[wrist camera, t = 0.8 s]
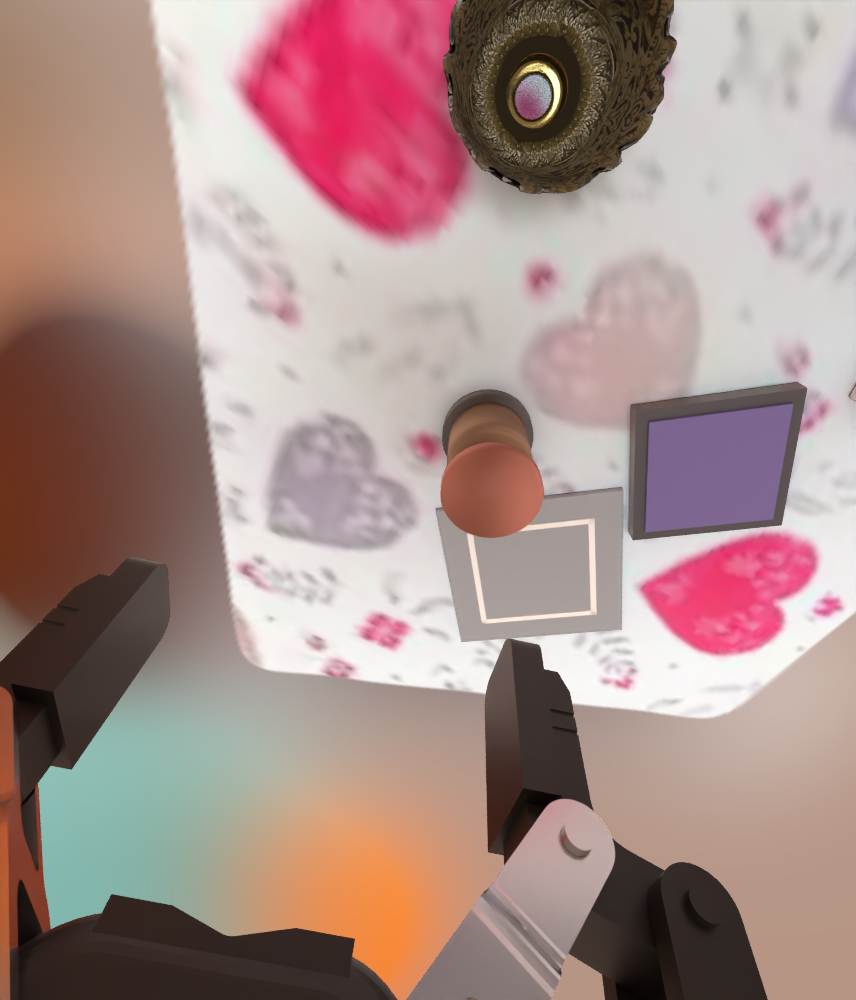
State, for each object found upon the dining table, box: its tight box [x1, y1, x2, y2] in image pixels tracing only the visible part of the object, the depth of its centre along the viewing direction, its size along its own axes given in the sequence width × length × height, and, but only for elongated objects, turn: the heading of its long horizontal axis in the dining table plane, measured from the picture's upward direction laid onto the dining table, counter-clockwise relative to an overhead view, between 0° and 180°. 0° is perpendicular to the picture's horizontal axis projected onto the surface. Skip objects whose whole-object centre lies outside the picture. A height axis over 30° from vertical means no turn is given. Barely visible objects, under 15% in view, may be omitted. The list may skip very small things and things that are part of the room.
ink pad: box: [629, 382, 807, 540], centre depth 32 cm, size 9×9×1 cm
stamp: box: [441, 390, 544, 538], centre depth 29 cm, size 5×5×8 cm
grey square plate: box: [436, 487, 623, 642], centre depth 37 cm, size 12×12×1 cm
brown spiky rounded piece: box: [443, 0, 677, 194], centre depth 21 cm, size 8×7×8 cm
